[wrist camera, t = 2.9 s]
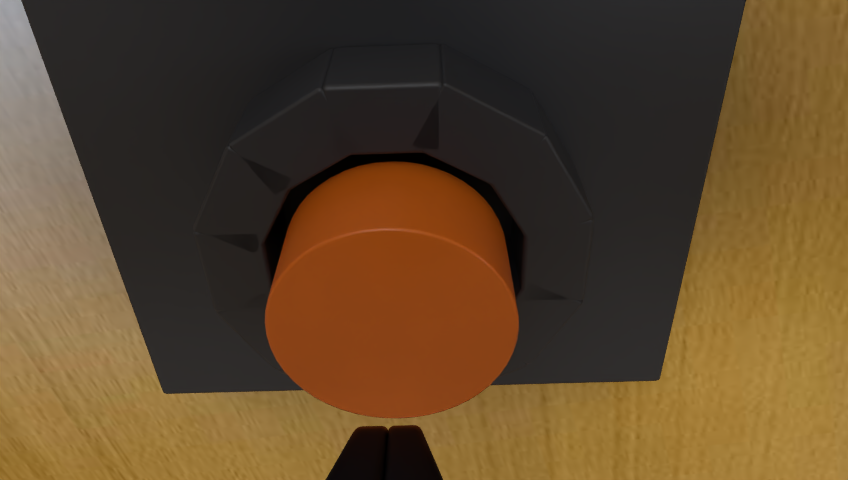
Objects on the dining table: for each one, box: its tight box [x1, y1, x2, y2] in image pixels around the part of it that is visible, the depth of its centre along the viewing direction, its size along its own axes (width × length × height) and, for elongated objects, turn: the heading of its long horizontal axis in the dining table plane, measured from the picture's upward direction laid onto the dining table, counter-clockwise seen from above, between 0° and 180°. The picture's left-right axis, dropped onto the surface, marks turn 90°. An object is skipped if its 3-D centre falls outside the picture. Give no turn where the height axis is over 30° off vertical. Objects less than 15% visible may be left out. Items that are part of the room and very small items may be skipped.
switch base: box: [21, 0, 746, 394], centre depth 14 cm, size 12×10×4 cm
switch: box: [265, 161, 519, 418], centre depth 12 cm, size 4×4×2 cm
